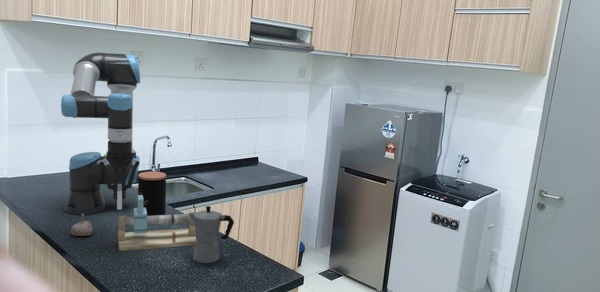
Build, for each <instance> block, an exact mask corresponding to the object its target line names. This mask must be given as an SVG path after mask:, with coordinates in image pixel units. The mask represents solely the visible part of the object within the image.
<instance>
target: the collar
mask: <svg viewBox="0 0 600 292" xmlns="http://www.w3.org/2000/svg"><path fill="white" fill-rule="evenodd" d="M133 217H134V225H133V232H134V234H145V233H147V231H148V225H147V211H146V208H143V195H138V194H137V207H134V208H133Z"/></svg>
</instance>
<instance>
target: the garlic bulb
mask: <svg viewBox="0 0 600 292" xmlns="http://www.w3.org/2000/svg"><path fill="white" fill-rule="evenodd" d="M85 215H86V214H80V221H79V222H78V223H75V224H73V225H72V226H71V228H70V234H71V235H73V236H76V237H78V236H81V237H85V236H86V237H89V236H90V237H91V235H93V231H94V230H93V227H94V226H93V224H92V222H90V221H88V220H85Z"/></svg>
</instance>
